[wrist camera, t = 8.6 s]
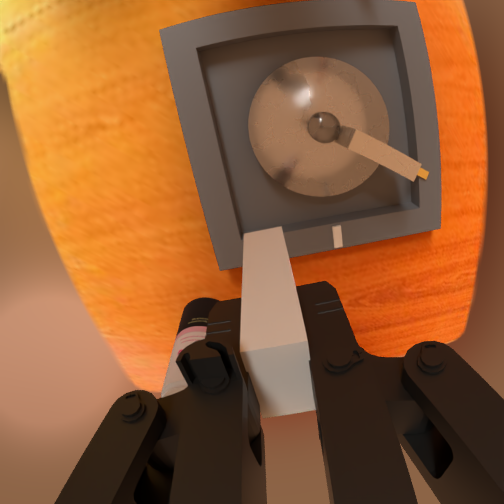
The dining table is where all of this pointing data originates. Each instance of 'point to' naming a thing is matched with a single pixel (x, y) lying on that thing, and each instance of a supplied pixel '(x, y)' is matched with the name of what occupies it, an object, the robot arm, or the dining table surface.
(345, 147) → the dial
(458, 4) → the dining table surface
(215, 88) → the panel
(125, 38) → the dining table surface
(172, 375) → the beverage can
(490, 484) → the robot arm
